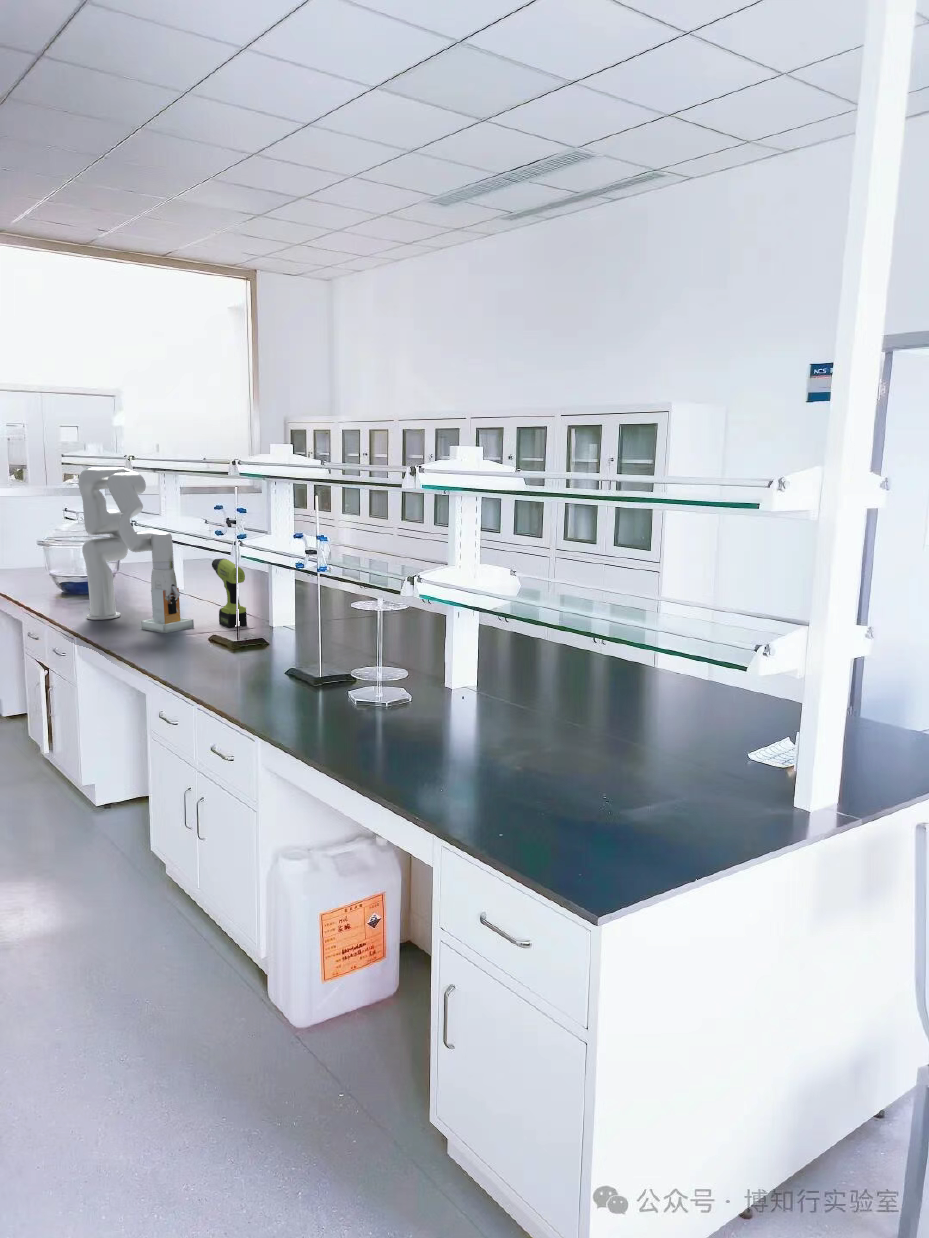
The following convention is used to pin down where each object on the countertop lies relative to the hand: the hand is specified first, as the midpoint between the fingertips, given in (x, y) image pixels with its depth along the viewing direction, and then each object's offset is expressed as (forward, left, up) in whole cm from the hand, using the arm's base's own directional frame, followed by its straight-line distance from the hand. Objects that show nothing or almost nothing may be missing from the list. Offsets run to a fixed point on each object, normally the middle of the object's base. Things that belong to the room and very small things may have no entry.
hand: (166, 612), depth 344 cm
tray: (0, 0, -6) cm, 6 cm away
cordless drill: (+12, +19, -6) cm, 23 cm away
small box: (0, 0, -4) cm, 4 cm away
